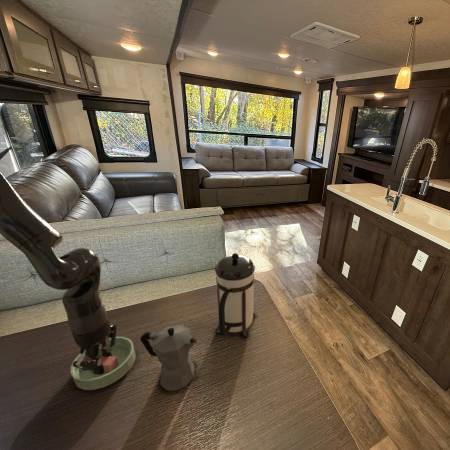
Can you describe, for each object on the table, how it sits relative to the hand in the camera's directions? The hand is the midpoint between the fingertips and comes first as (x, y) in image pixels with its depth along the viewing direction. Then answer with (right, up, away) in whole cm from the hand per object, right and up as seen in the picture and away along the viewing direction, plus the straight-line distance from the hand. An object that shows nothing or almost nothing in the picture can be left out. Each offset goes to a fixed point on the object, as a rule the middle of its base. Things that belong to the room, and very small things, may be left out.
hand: (104, 367), depth 71 cm
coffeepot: (+20, -3, +1) cm, 20 cm away
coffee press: (+33, +4, +19) cm, 38 cm away
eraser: (0, 0, 0) cm, 0 cm away
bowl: (0, -1, +1) cm, 1 cm away
